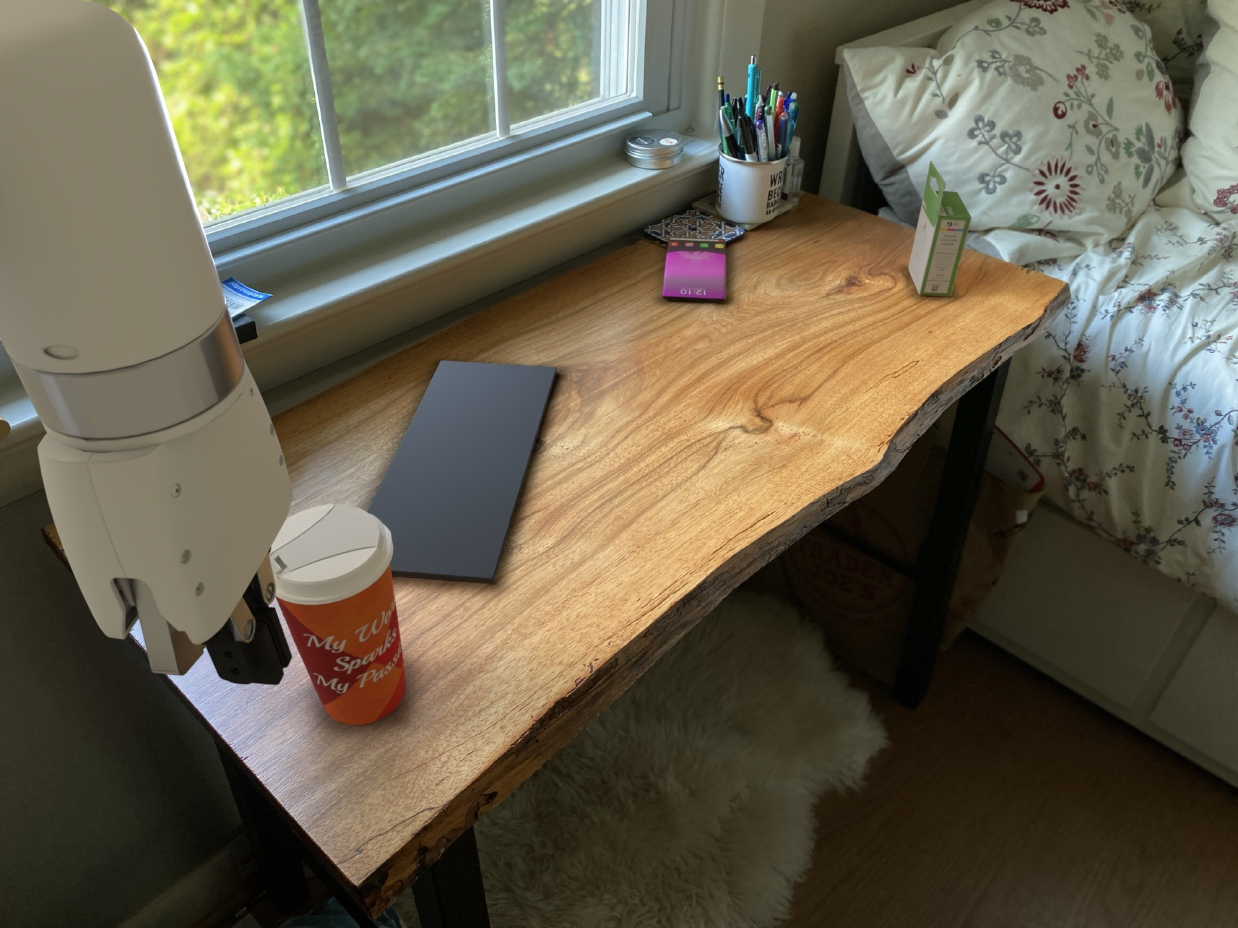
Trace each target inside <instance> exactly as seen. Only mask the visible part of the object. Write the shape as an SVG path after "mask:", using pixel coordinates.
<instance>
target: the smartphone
mask: <svg viewBox="0 0 1238 928" xmlns="http://www.w3.org/2000/svg"><path fill="white" fill-rule="evenodd" d="M664 264H665V266H664V273H663V281H662V282H663V283H662V292H661V298H663V299H664V300H675V301H697V302H698V301H699V302H717V303H718V302H719V303H721V302H722V303H723V302H726V300H727V241H726V240H725V239H724V238H711V237H710V238H709V237H687V236H686V237H685V236H684V237H683V236H670V237H669V238H668V239H667V246H666V256H665V263H664Z"/></svg>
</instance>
